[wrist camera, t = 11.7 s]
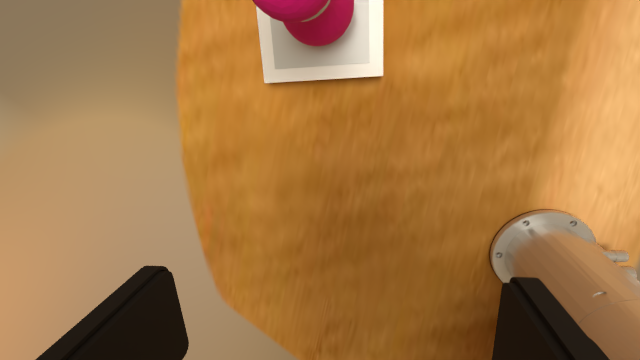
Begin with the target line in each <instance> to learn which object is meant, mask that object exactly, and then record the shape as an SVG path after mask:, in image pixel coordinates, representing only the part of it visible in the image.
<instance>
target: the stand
mask: <svg viewBox="0 0 640 360" xmlns="http://www.w3.org/2000/svg"><path fill="white" fill-rule="evenodd" d="M256 10H257V19H258V28H259V37H260V46H261V55H262V64H263V73H264V82H265V83H277V82H293V81H309V80H325V79H342V78H358V77H374V76H383V0H354V12H353V16H352V19H351V22H350V24H349V26H348V28H347V29H346V31H345V32H344V34H343V35H342V36H341V37H340V38H338V39H337V40H336V41H334V42H332V43H330V44H327V45H324V46H309V45H306V44H303V43H301V42H300V41H298V40H297V39H295V38H294V37H293V36H292V35H291V34H290V33H289V31H288V30H287V29H286V27H285V25H284V23H283V22H282V21H278V20H276V19H273V18H271V17H270V16H268V15H267V14H265V13H264V12H263V11H262V10H260V9H259V8H258V7H257V6H256Z"/></svg>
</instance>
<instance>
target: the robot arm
mask: <svg viewBox="0 0 640 360" xmlns="http://www.w3.org/2000/svg"><path fill="white" fill-rule="evenodd" d="M523 221H524V222H523ZM628 260H629V255H628V253H627V252H626V251H624V250H611V251H606V250H605V249H603V248H602V247H601V246H599V245H598V244H597V243H596V238H595V236H594V234H593V232H592V231H591V229H590V228H589V227H588V226H587V225H586V224H585V223H584V222H582V221H581V220H580V219H578V218H576V217H575V216H573V215H571V214H568V213H566V212H563V211H557V210H538V211H532V212H529V213H526V214H523V215H521V216H519V217H517V218H515V219H513V220H512V221H510V222H509V223H507V224H506V225H505V226H504V227H503V228H502V229H501V230H500V231H499V233H498V234H497V235H496V237H495V239H494V241H493V243H492V246H491V251H490V261H491V264H492V267H493V269H494V271H495V273H496V275H497V276H498V277H499V279H500V280H501V281H502V282H503V283H504V284H503V286H502V291H501V299H500V306H499V313H498V320H497V327H496V334H495V341H494V348H493V356H492V360H640V282H639V281H638V280H637V274H636V271H635V270H634V268H633V267H631V266H619V265H617V264H616V263H615V262H627V261H628ZM613 261H614V262H613ZM188 344H189V342H188V337H187V333H186V328H185V324H184V320H183V316H182V312H181V308H180V303H179V299H178V295H177V291H176V287H175V282H174V278H173V275H172V273H171V272H169V271H168V269H167V268H166V267H164V266H144V267H143V268H141V269H140V270H139V271H138V272H136V273H135V274H134V275H133V276H132V277H131V278H130V279H128V280H127V281H126V282H125V283H124V284H123V285H122V286H120V287H119V288H118V289H117V290H116V291H115V292H113V293H112V294H111V295H110V296H109V297H108V298H106V299H105V300H104V301H103V302H102V303H101V304H99V305H98V306H97V307H96V308H95V309H94V310H92V311H91V312H90V313H89V314H88V315H87V316H86V317H85V318H83V319H82V320H81V321H80V322H79V323H77V325H75V326H74V327H73V328H72V329H71V330H69V331H68V332H67V333H66V334H65V335H64V336H62V337H61V338H60V339H59V340H58V341H57V342H56V343H54V344H53V345H52V346H51V347H50V348H49V349H47V350H46V351H45V352H44V353H43V354H42V355H40V356H39V357H38V358H37V359H36V360H182V359H183V358H184V356H185V354H186V353H187V350H188Z"/></svg>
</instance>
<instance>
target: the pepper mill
mask: <svg viewBox="0 0 640 360" xmlns="http://www.w3.org/2000/svg"><path fill="white" fill-rule="evenodd" d="M253 2H254V3H255V4H256V6H257V7H258V8H259V9H260V10H262V11H263V12H264V13H265V14H267V15H268V16H270V17H271V18H273V19H276V20H278V21H282V22H283V23H284V25H285V27H286V29H287V30H288V31H289V33H290V34H291V35H292V36H293V37H294V38H295V39H297V40H298V41H300V42H301V43H303V44H306V45H309V46H324V45H327V44H330V43H332V42H334V41H336V40H337V39H338V38H340V37H341V36H342V35H343V34H344V32H345V31H346V29H347V28H348V26H349V24H350V22H351V19H352V16H353V12H354V0H253Z"/></svg>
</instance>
